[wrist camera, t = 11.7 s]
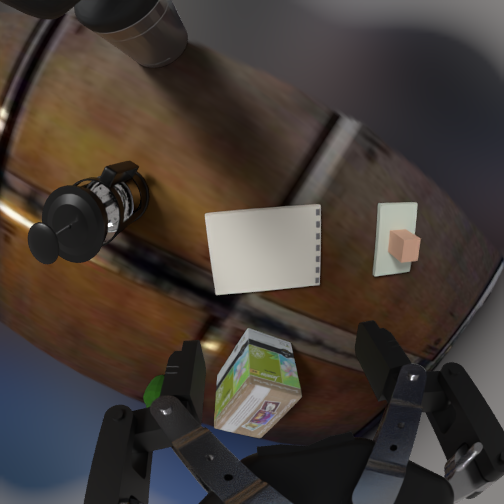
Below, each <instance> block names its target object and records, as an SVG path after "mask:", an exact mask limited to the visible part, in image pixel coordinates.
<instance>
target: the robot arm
mask: <svg viewBox="0 0 504 504" xmlns="http://www.w3.org/2000/svg"><path fill="white" fill-rule="evenodd" d="M0 1H1V2H3V3H5V4H7V5H9V6H11V7H13V8H15V9H17V10H19V11H21V12H23V13H25V14H28V15H31V16H34V17H37V18H41V19H55V18H58V17H60V16H62V15H64V14H65V13H66V12H68V11H69V10H70V9H71V8H73V7H74V9H75V15H76V17H77V19H78V20H79V21H80V23H82V24H83V25H84V26H86V27H87V28H89V29H90V30H92V31H93V32H95V33H96V34H98V35H99V36H101V37H102V38H104V39H106V40H107V41H108V42H110V43H111V44H113V45H114V46H115V47H117V48H118V49H120V50H121V51H122V52H124V53H125V54H127V55H128V56H129V57H131V58H132V59H133V60H135V61H136V62H137V63H139V64H141V65H142V66H145V67H149V68H157V67H162V66H165V65H168V64H170V63H172V62H173V61H174V60H176V59H177V58H178V57H179V56H180V55H181V54H182V52H183V51H184V50H185V47H186V45H187V40H188V36H187V32H186V29H185V27H184V25H183V23H182V21H181V18H180V16H179V14H178V12H177V10H176V8H175V6H174V4H173V2H172V0H0ZM355 353H356V356H357V358H358V360H359V362H360V364H361V366H362V368H363V370H364V372H365V374H366V377H367V379H368V381H369V383H370V385H371V387H372V389H373V391H374V393H375V395H376V397H377V399H378V401H382V400H387V402H388V404H387V406H386V409H385V412H384V414H383V417H382V420H381V422H380V425H379V428H378V430H377V432H376V435H375V437H374V439H373V441H372V440H369V439H366V438H358V437H353V434H352V432H348V433H344V434H339V435H334V436H330V437H327V438H325V439H323V440H320V441H318V442H316V443H313V444H311V445H308V446H297V445H282V444H280V445H271V446H261V447H257V453H255V454H252V455H250V456H247V457H246V458H243V459H242V460H240V461H239V460H238V459H237V458H236V457H235V456H234V455H233V454H232V453H231V452H230V451H229V450H228V449H227V448H226V447H225V446H224V445H223V444H222V443H221V442H220V441H219V440H218V439H217V438H216V437H215V436H214V435H213V434H212V432H210V430H208V429H207V428H206V427H205V428H203V427H202V426H201V422H202V410H203V398H204V387H205V376H206V367H205V361H204V357H203V353H202V349H201V344H200V341H199V340H192V341H184V342H183V347H182V351H174V353H173V354H172V355H171V356H170V357H169V360H168V364H167V368H166V372H165V376H164V380H163V384H162V388H161V392H160V396H159V397H158V398H157V399H155V400H154V401H153V402H152V404H151V406H150V407H148V408H144V409H139V410H135V411H131V409H130V408H129V407H127V406H125V405H115V406H113V407H111V408H109V409H108V410H107V411H106V413H105V415H104V419H103V422H102V426H101V429H100V433H99V437H98V441H97V445H96V449H95V453H94V457H93V461H92V465H91V470H90V475H89V479H88V484H87V489H86V494H85V499H84V504H148V498H149V484H150V474H151V464H152V453H153V451H154V450H158V449H163V448H168V447H172V449H173V450H174V452H175V453H176V454H177V456H178V457H179V458H180V460H181V461H182V462H183V463H184V465H185V466H186V467H187V468H188V470H189V471H190V472H191V473H192V475H193V476H194V477H195V478H196V480H197V481H198V482H199V483H200V484H201V486H202V487H203V488H204V489H205V490H206V491H207V492H208V494H207V496H206V497H205V498H204V499H203V500H202V501H201V502H200V503H199V504H455V503H457V502H459V501H460V500H462V499H464V498H467V499H471V498H474V497H476V496H477V495H479V494H480V493H481V492H483V491H484V490H485V489H487V488H488V487H489V486H491V485H492V484H493V483H495V482H496V481H497V480H498V479H499V478H501V477H502V476H503V475H504V431H503V429H502V427H501V425H500V424H499V422H498V420H497V419H496V417H495V415H494V414H493V412H492V410H491V409H490V407H489V405H488V404H487V402H486V401H485V399H484V398H483V396H482V394H481V393H480V391H479V390H478V388H477V387H476V385H475V384H474V382H473V381H472V379H471V378H470V376H469V375H468V374H467V372H466V371H465V369H464V368H463V367H462V366H461V365H459V364H457V363H454V362H450V363H446V364H445V365H443V367H442V369H441V371H426V370H425V369H424V368H423V367H422V366H420V365H418V364H412V363H411V361H410V360H409V358H408V357H407V355H406V354H405V352H404V351H403V349H402V348H401V347H400V346H399V344H398V342H397V341H396V339H395V338H394V336H393V335H392V334H391V333H390V332H389V331H387V330H386V329H384V328H381V329H380V328H379V327H378V325H377V324H376V322H375V321H374V320H372V321H366V322H361V323H359V325H358V331H357V337H356V343H355ZM422 412H425V413H426V415H427V417H428V419H429V421H430V423H431V425H432V427H433V429H434V432H435V434H436V436H437V438H438V440H439V442H440V445H441V447H442V449H443V452H444V454H445V456H446V459H447V463H446V464H445V467H444V472H445V475H444V477H442V476H440V475H438V474H436V473H434V472H432V471H430V470H428V469H426V468H424V467H422V466H420V465H418V464H416V463H414V462H412V461H410V460H409V457H410V454H411V451H412V448H413V444H414V441H415V438H416V434H417V430H418V426H419V423H420V418H421V415H422Z"/></svg>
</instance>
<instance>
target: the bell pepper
mask: <svg viewBox="0 0 504 504" xmlns="http://www.w3.org/2000/svg"><path fill="white" fill-rule="evenodd" d="M163 380H164V375H159V376H156V377H155V378H154V379H153V380H152V381H151V382H150V384H149V385H148V387H147V388H146V390H145V393H144V402H145V404H146V407H147V408H148V407H150V406H151V404H152V402H153V401H154V400H155V399H157V398H158V397H159V396H160V392H161V388H162V384H163Z"/></svg>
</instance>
